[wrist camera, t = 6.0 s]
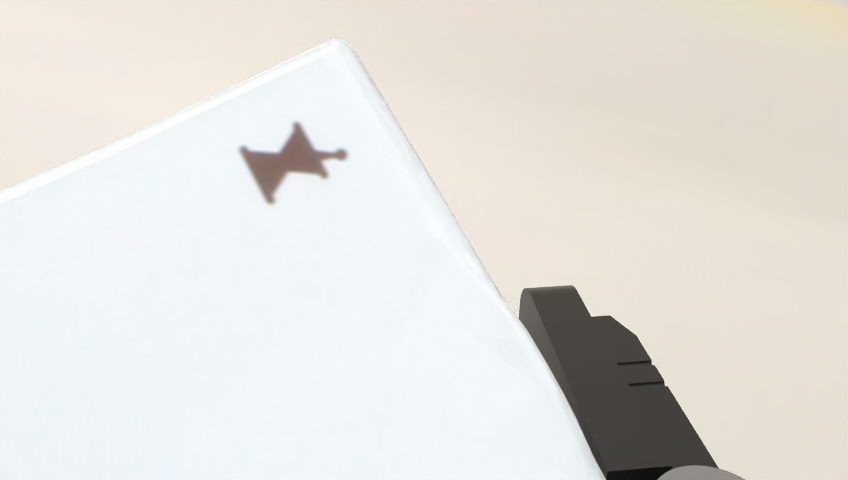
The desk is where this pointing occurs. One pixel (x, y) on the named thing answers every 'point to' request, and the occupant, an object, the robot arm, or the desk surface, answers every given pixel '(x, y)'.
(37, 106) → the desk surface
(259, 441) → the skincare box
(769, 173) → the desk surface
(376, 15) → the desk surface
